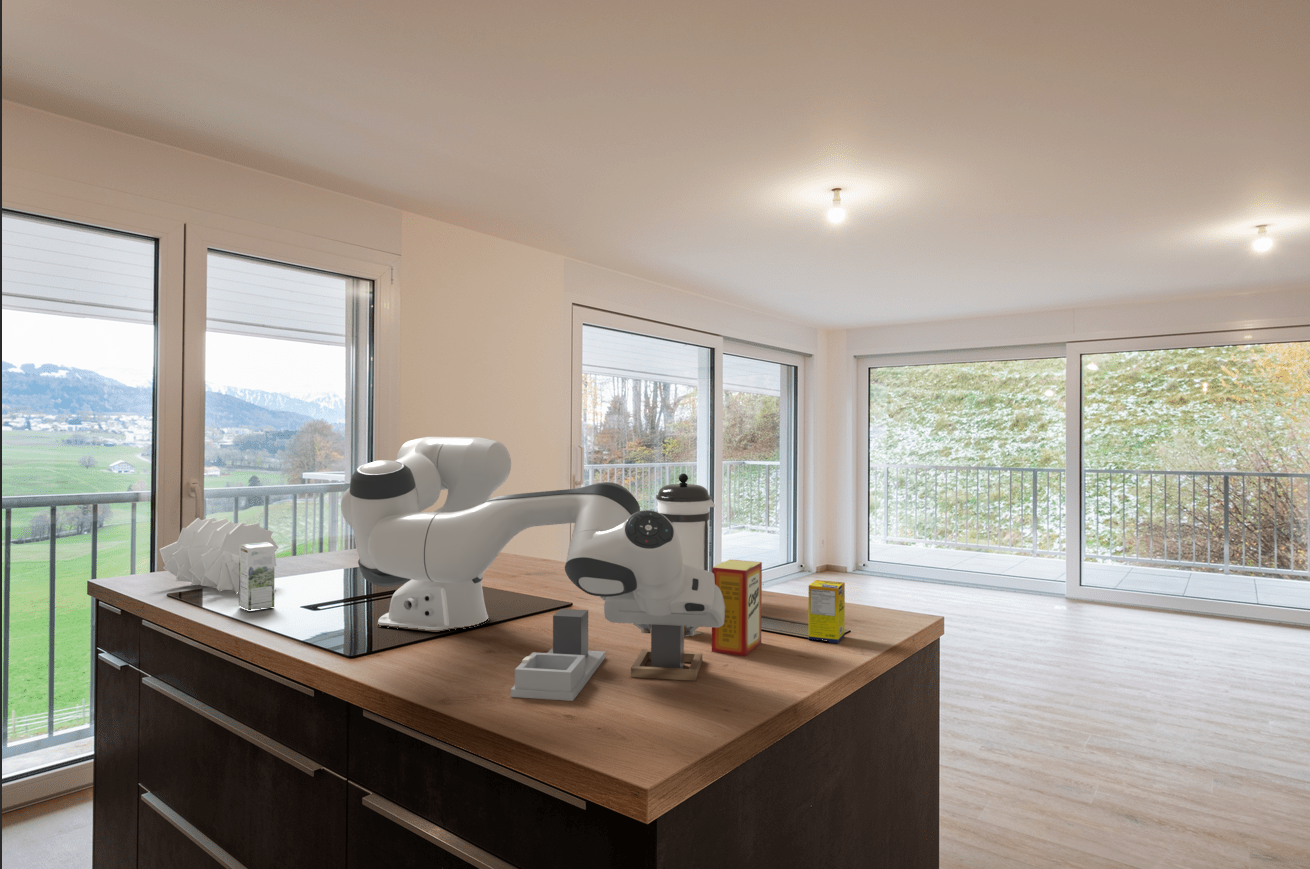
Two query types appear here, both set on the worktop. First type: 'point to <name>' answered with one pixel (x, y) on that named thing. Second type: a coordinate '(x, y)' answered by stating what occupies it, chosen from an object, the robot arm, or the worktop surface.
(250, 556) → the syrup box
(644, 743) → the worktop surface
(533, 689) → the tray and post stand
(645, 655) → the holder frame
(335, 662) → the worktop surface
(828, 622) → the supplement box
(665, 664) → the dark grey block
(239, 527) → the spiral staircase
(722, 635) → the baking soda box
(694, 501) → the coffee press
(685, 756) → the worktop surface
